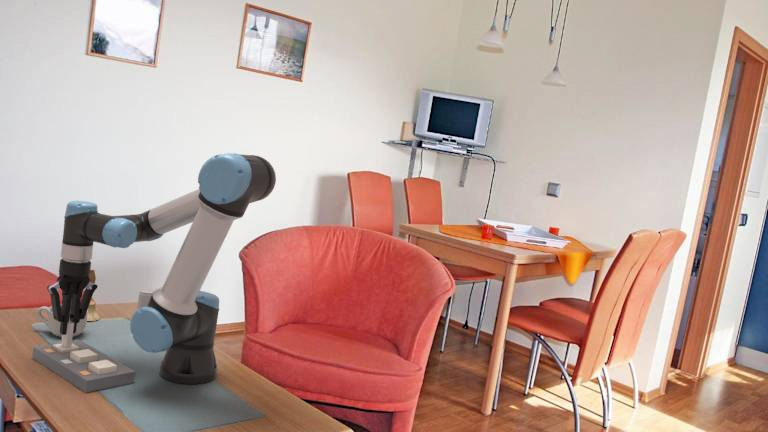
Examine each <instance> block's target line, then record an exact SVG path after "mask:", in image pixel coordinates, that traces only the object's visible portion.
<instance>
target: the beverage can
mask: <svg viewBox="0 0 768 432" xmlns="http://www.w3.org/2000/svg"><path fill="white" fill-rule="evenodd" d="M153 292H154V290H152V289H147V288H146V289H140V290H139V292H138V302H137V309H136V311H137V310H138V309H140V308H142V307H146V306H147V304H148V302H149V300H150V298H151V296H152V293H153Z"/></svg>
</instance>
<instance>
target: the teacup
mask: <svg viewBox="0 0 768 432" xmlns="http://www.w3.org/2000/svg"><path fill="white" fill-rule="evenodd" d="M60 304H61V306H62V303H60ZM42 311H45V312H46V314H47V319H46V318H45V317H44V316H43V315H42ZM87 313H88V310H87ZM87 313H86V316H85V318H84V319H80V320H79V321H80V322H79V323H77V327H76V332H75V333H73V338H74V336H75V337H77V336H79V335H80V334H81V333H83V332H84V330H85V329H86V327H87V323H88V322H87ZM36 316H37V318H38V319H39V320H40V321H41V322H42V323H44V325H46V327H47V329H48V331H49V332H50V333H52V334H53V336H55V335H56V336H55V337H57V336H59V337H58V338H62V334H60V322H58V321H57V320H55V319H54V318H53V311H52V305H50V306H49V307H48V306H45V305H43V306H41V307H39V308H38V309H37V312H36ZM69 317H70V316H69ZM69 321H70V319H69Z"/></svg>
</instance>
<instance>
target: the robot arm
mask: <svg viewBox="0 0 768 432" xmlns="http://www.w3.org/2000/svg"><path fill="white" fill-rule="evenodd" d="M276 177H277V176H276V171H275V169H274V167H273V165H272V164H271V163H270V162H269V161H268V160H267V159H265V158H264V157H262V156H259V155H254V154H241V153H239V154H238V153H235V152H231V153H230V152H226V153H219V154H215V155H213V156H211V157H210V158H208V159H207V160H206V161H205V162H204V163H203V165H202V166H201V168H200V170H199V173H198V177H197V183H198V184H199V186H198V188H197V189H195V190H193V191H191V192H188V193H186V194H183V195H182V196H179V197H177V198H174V199H172V200H170V201H167V202H165V203H163V204H160V205H158V206H156V207H154V208H151V209H149V210H146V211H144V212H141V213H139V214H126V215H125V214H124V215H123V214H122V215H109V214H105V213H100V212H99V210H98V205H97V203H95V202H91V201H85V200H71V201H69V202H68V203H67V204H66V207H65V208H66V209H65V214H64V222H63V231H62V232H63V233H62V234H63V235H62V241H61V242H62V243H61V251H60V258H61V259H60V260H59V265H58V266H59V267H58V277H57V279H56V282H55V283H54V284H52V285H48V286H47V287H46V289H47V292H48V293H49V294H50V301H51V303H50V304H51V306H52V311H53V318H54V319H55V320H57V321H58V322H60V334H62V337H61V341H60V343H61V345H63V346H65V347H71V346H72V342H73V338H74V337H73V333H75V332H76V327H77V323H79V322H80V321H79V320H80V319H84V318H85V316H86V313H87V310H88V307H89V304H90V301H91V300H92V298H93V295H94V293H95V291H96V290H97V289H98V284H96V283H95V284H94V283H92V282H90V278H89V274H90V270H91V268H92V267H91V266H92V262H91V260H92V259H93V249H94V242H95V243H98V244H103V245H106V246H109V247H111V248H119V249H120V248H121V249H127V248H129V247H130V246H131V245H133V244H134V243H140V242H152V241H155V240H159V239H160V238H162V237H163V236H164V234H166V233H169V232H171V231H174V230H176V229H179V228H181V227H184V226H186V225H189V224H191V225H190V228H189V230H188V232H187V234H186V236H185V239H184V240H183V243H182V245H181V247H180V249H179V251H178V253H177V255H176V258H175V260H174V262H173V264H172V266H171V268H170V270H169V273H168V275H167V276H166V279H165V281H164V283H163V285H162V287H159V288H155V289H154V290H153V291H154V292H153V293H152V296H151V298H150V300H149V302H148V304H147V306H146V307H142V308H140V309H138V310H137V309H136V310H135V311H134V313H133V315H132V316H131V319H130V323H129V325H130V332H131V335H132V338H133V340H134V342H135V343H136V345H137V346H138V347H139V348H140V349H142V350H143V351H145V352H147V353H151V354H153V353H154V354H156V353H160V352H161V353H162V352H165V354H164V356H163V359H162V360H161V361H160V364H159V371H158V373H159V376H160V377H162V378H163V379H165V380H167V381H170V382H172V383H178V384H183V385H184V384H186V385H198V384H205V383H209V382H211V381H213V380H214V379H216V378H217V374H218V373H217V372H218V365H217V361H216V354H215V349H214V347H215V346H214V345H215V340H216V339H215V338H216V332H217V324H218V317H219V312H220V298H219V297H218V296H217V295H216V294H214V293H211V292H207V291H204V290H202V287H203V284H204V283H205V281H206V278H207V277H208V275H209V272H210V270H211V268H212V266H213V264H214V263H215V260H216V257H217V256H218V253H219V252H220V250H221V247H222V246H223V244H224V242H225V239H226V237H227V236H228V233H229V232H230V230H231V228H232V225H233V223H234V221H235V220H238V219H241V218H243V217H244V215H245V212H246V211H247V209H248V208H249V207H248V206H249V204H252V203H255V202H258V201H262V200H264V199H266V198H267V197H269V196H270V195H271V193H272V192H273V190H274V189H275V186H276V183H277V182H276V181H277V178H276ZM60 290H61V297H60V294H59V293H60ZM60 298H61V299H60ZM61 304H62V306H61ZM69 316H70V317H69ZM69 319H70V321H69Z"/></svg>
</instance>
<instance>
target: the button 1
mask: <svg viewBox="0 0 768 432" xmlns="http://www.w3.org/2000/svg"><path fill="white" fill-rule="evenodd" d="M55 344H56V345H53V348H54V349H55V350H57V351H59V352H60V353H66V352H72V351H78V350H79V349H80V348H79V347H78V346H76V345H74V344H72V346H71V347H65V346H63V345H61V344H58V343H55Z"/></svg>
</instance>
